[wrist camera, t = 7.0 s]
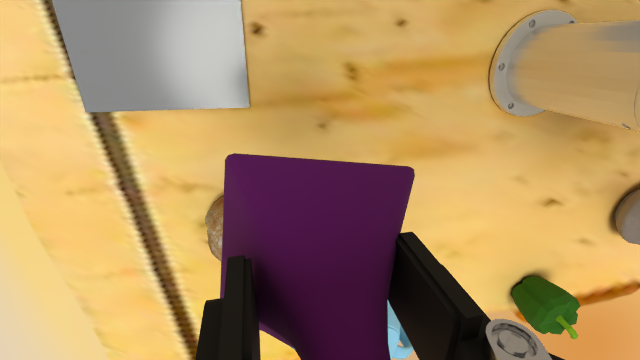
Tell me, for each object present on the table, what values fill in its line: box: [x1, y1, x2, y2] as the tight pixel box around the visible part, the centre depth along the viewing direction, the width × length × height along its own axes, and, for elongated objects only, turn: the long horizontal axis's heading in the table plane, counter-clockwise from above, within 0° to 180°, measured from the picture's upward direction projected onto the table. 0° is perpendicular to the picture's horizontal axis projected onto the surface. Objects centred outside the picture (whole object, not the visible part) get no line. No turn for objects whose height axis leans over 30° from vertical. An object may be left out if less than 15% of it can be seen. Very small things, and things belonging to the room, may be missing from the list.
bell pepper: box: [512, 276, 580, 339], centre depth 54 cm, size 8×8×10 cm
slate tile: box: [52, 0, 250, 112], centre depth 29 cm, size 16×16×1 cm
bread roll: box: [205, 196, 224, 261], centre depth 39 cm, size 10×10×8 cm
